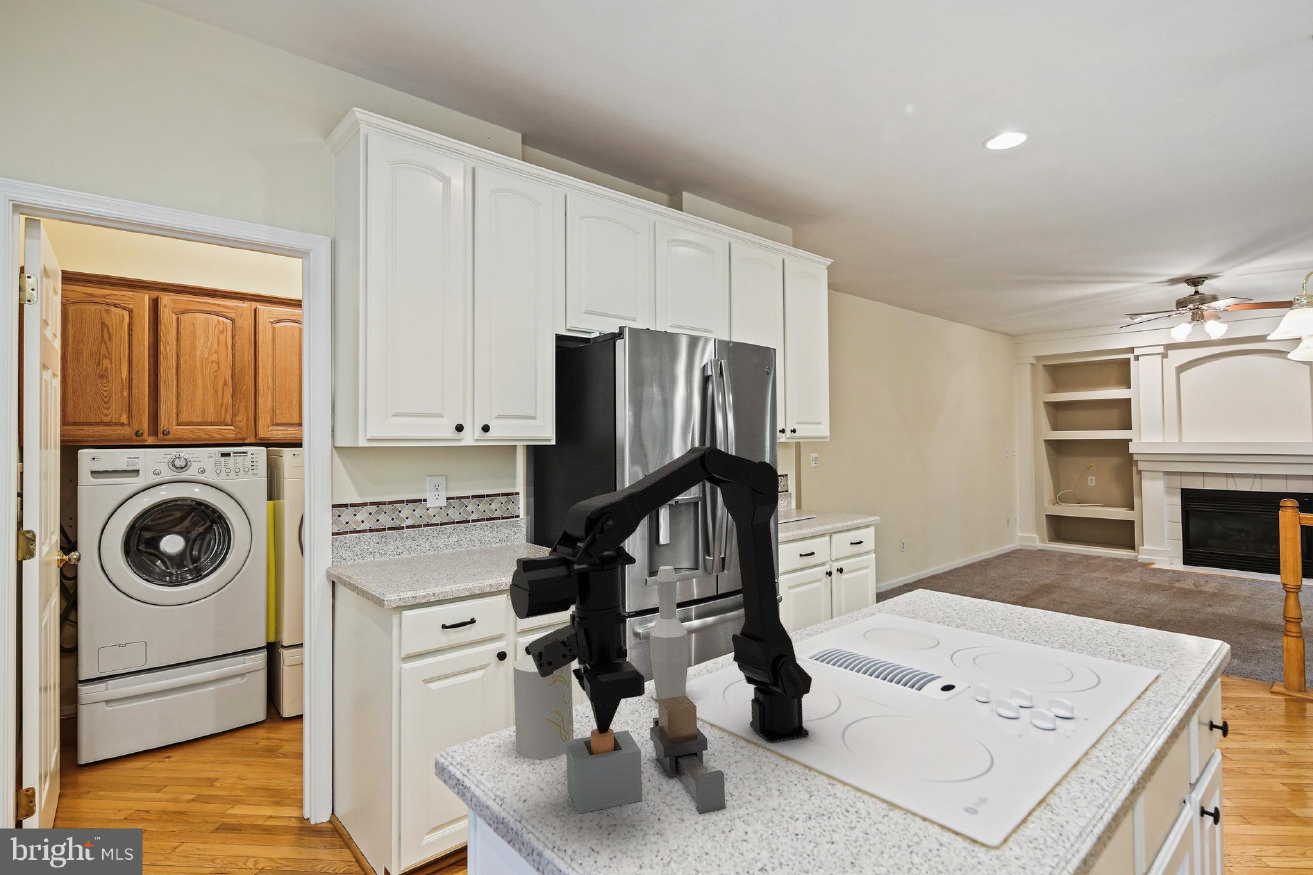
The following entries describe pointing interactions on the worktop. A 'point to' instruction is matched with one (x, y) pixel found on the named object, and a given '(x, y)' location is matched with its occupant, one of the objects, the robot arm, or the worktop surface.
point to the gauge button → (602, 742)
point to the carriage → (677, 732)
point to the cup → (542, 710)
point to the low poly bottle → (668, 640)
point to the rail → (700, 781)
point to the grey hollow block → (603, 773)
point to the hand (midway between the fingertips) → (602, 732)
